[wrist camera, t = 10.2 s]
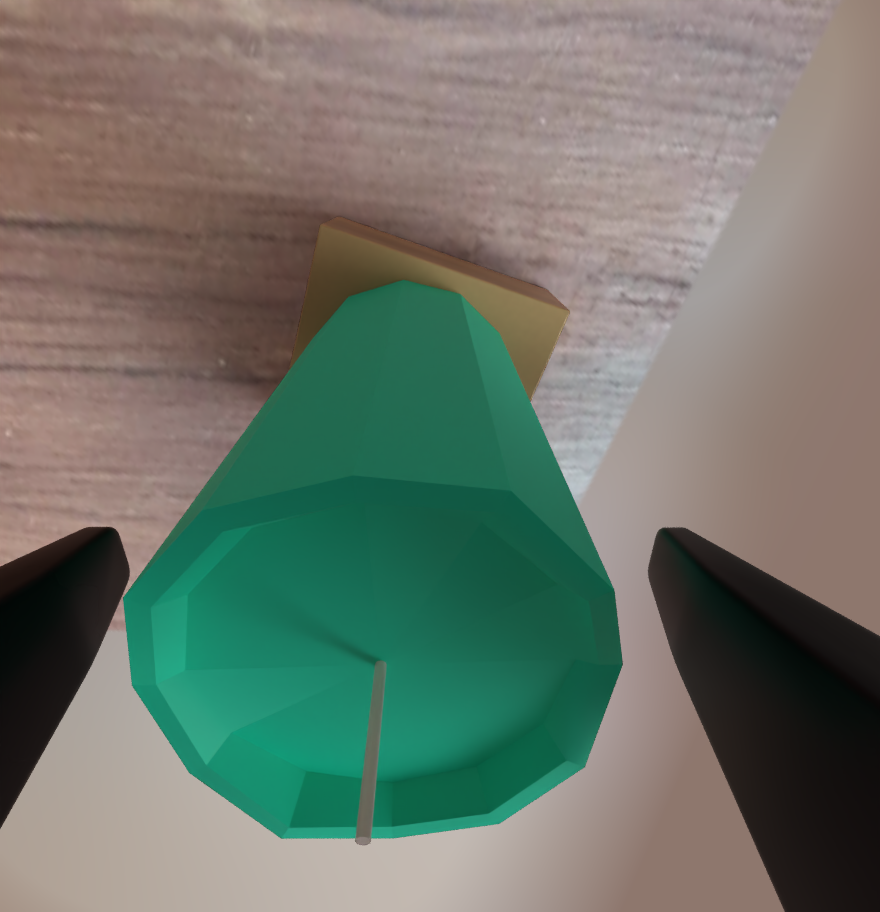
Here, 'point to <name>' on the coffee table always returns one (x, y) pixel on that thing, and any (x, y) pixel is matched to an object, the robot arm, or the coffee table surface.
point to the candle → (382, 591)
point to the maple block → (394, 259)
